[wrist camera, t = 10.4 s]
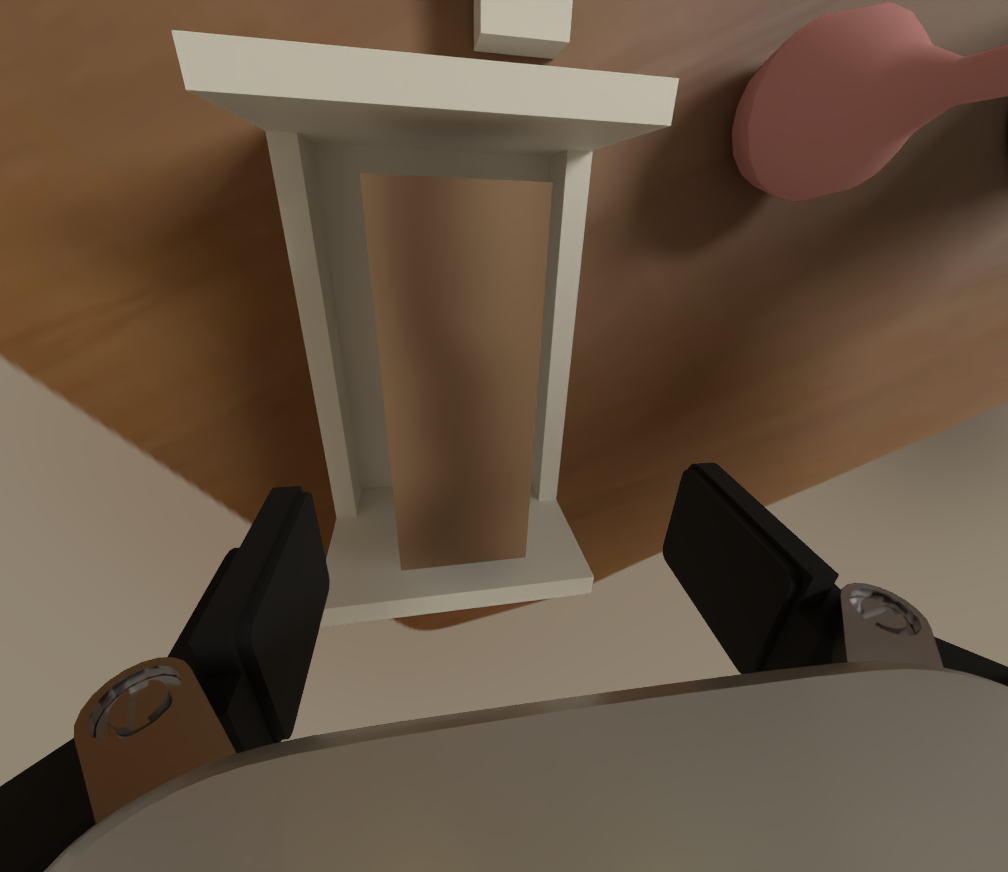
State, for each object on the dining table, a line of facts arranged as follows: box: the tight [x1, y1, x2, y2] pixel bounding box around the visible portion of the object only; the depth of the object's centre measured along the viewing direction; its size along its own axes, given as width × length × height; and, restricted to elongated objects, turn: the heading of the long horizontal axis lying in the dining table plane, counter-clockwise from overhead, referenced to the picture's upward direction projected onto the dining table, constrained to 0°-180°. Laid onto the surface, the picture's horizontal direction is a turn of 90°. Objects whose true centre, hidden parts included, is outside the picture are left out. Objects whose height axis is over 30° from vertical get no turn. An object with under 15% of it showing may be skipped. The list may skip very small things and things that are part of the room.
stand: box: [171, 30, 679, 627], centre depth 22 cm, size 14×22×11 cm, turn 178°
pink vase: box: [732, 2, 1008, 202], centre depth 19 cm, size 8×8×12 cm
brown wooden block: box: [360, 173, 553, 571], centre depth 19 cm, size 6×16×5 cm, turn 178°
